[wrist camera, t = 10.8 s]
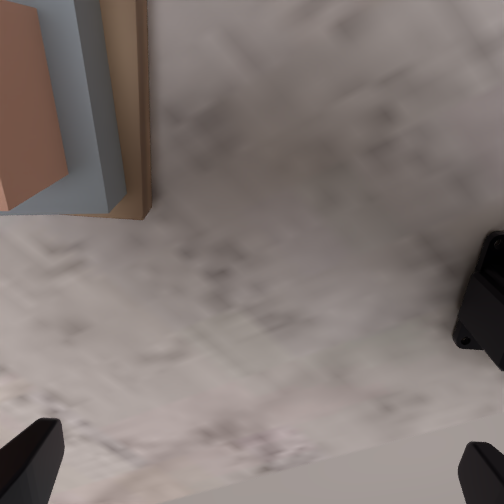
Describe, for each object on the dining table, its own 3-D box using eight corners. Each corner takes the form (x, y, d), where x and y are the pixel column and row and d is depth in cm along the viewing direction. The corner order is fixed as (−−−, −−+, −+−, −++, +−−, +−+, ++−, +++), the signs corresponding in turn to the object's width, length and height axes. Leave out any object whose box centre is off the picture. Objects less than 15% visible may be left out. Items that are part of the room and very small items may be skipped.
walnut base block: (149, -49, 16) (133, -66, 14) (154, 202, 20) (142, 220, 18) (-120, -73, 16) (-182, -95, 14) (-59, 187, 20) (-98, 203, 18)
